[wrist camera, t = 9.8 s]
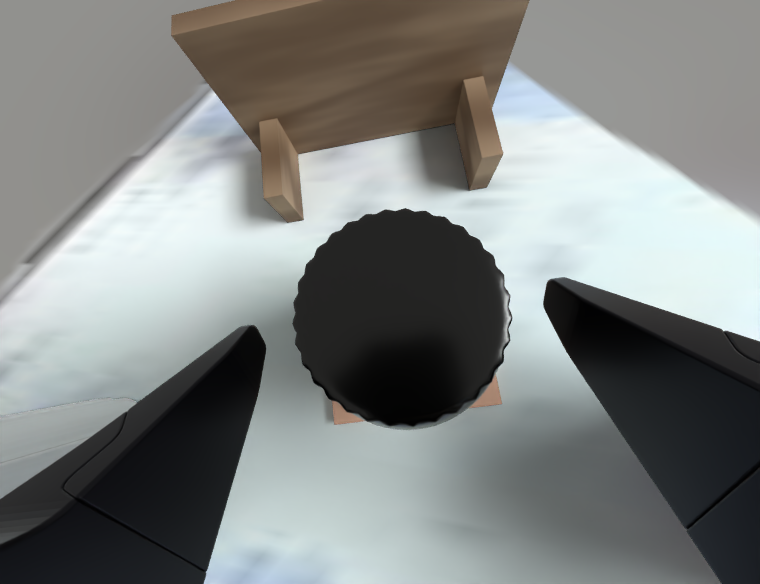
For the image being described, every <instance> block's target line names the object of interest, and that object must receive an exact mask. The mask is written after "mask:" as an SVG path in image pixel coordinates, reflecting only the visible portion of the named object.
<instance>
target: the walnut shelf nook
mask: <svg viewBox="0 0 760 584" xmlns="http://www.w3.org/2000/svg"><path fill="white" fill-rule="evenodd" d="M528 3H529V0H235V1H231V2H227V3H222V4H218V5H214V6H210V7H205V8H202V9H197V10H193V11H189V12H184V13H181V14H176V15H172V27H171V36H172V37H173V38H174V40H175V41H176V42H177V44H178V45H179V46H180V47H181V49H182V50H183V51H184V53H185V54H186V55H187V57H188V58H189V59H190V60H191V62H192V63H193V64H194V66H195V67H196V68H197V70H198V71H199V72H200V74H201V75H202V76H203V78H204V79H205V80H206V82H207V83H208V84H209V85H210V87H211V88H212V89H213V91H214V92H215V93H216V95H217V96H218V97H219V99H220V100H221V101H222V103H223V104H224V105H225V106H226V108H227V109H228V110H229V112H230V113H231V114H232V116H233V117H234V118H235V120H236V121H237V122H238V123H239V125H240V126H241V127H242V129H243V130H244V131H245V133H246V134H247V135H248V137H249V138H250V139H251V140H252V142H253V143H254V144H255V146H256V147H257V148H258V150H259V151H260V152H261V160H262V177H263V193H264V199H265V200H266V201H267V202H268V203H269V204H270V205H271V206H272V207H273V208H274V209H275V210H276V211H277V212H278V213H279V214H280V215H281V216H282V217H283V218H284V219H285V220H286V221H287V222H288V223H289V222H294V221H300V220H304V219H303V208H302V197H301V186H300V175H299V163H298V154H300V153H306V152H311V151H316V150H321V149H326V148H331V147H336V146H341V145H347V144H352V143H357V142H362V141H367V140H372V139H377V138H383V137H388V136H393V135H398V134H403V133H408V132H413V131H418V130H424V129H429V128H434V127H439V126H444V125H449V124H454V123H455V127H456V132H457V136H458V141H459V145H460V150H461V154H462V159H463V163H464V168H465V172H466V177H467V181H468V186H469V190H475V189H480V188H486V187H487V186H488V184H489V182H490V180H491V178H492V176H493V174H494V172H495V170H496V168H497V166H498V164H499V162H500V160H501V158H502V156H503V151H502V147H501V143H500V139H499V135H498V131H497V128H496V124H495V120H494V116H493V112H492V107H493V104H494V101H495V98H496V95H497V92H498V89H499V87H500V84H501V81H502V78H503V75H504V72H505V69H506V66H507V64H508V61H509V58H510V55H511V52H512V49H513V46H514V43H515V41H516V38H517V35H518V32H519V29H520V26H521V23H522V20H523V18H524V14H525V12H526V9H527V6H528Z"/></svg>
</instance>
